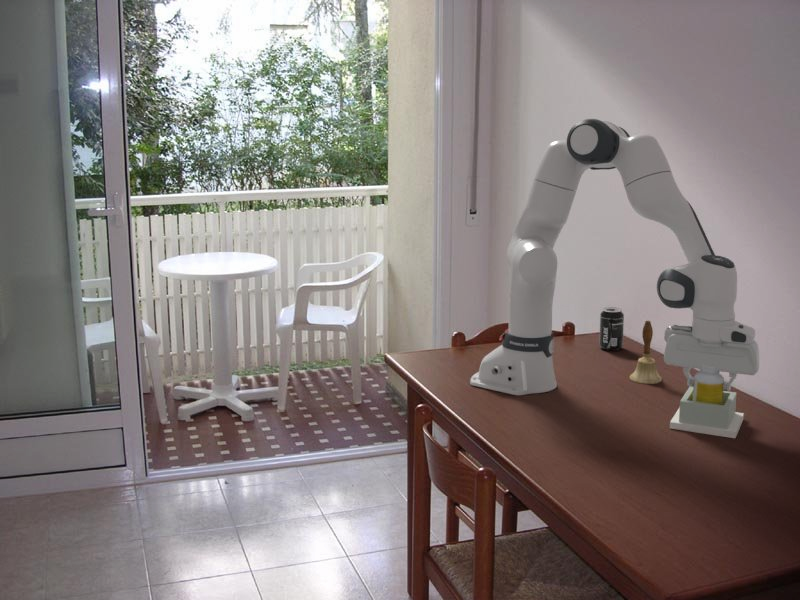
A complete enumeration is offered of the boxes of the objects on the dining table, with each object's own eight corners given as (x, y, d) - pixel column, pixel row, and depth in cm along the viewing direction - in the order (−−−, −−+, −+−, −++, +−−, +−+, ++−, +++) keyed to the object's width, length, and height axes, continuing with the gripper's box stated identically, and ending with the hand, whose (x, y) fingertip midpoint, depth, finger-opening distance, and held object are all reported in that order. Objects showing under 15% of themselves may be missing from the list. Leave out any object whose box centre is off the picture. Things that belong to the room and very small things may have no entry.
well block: (669, 428, 198) (671, 400, 197) (681, 410, 209) (682, 384, 208) (735, 438, 192) (737, 410, 190) (743, 419, 203) (745, 392, 202)
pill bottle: (723, 418, 197) (727, 368, 194) (693, 416, 198) (697, 367, 195) (719, 408, 203) (723, 360, 200) (689, 406, 204) (693, 358, 201)
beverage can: (597, 345, 266) (599, 306, 263) (620, 345, 265) (622, 306, 262) (600, 351, 259) (601, 311, 256) (624, 351, 258) (625, 312, 256)
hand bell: (660, 385, 228) (663, 325, 224) (627, 382, 231) (630, 323, 227) (663, 376, 235) (666, 318, 232) (631, 373, 238) (634, 316, 235)
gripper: (662, 327, 198) (658, 385, 201) (759, 337, 188) (754, 398, 192) (668, 320, 203) (664, 377, 206) (762, 330, 194) (758, 390, 197)
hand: (708, 387), depth 199 cm, fingers closed on pill bottle, 6 cm apart
